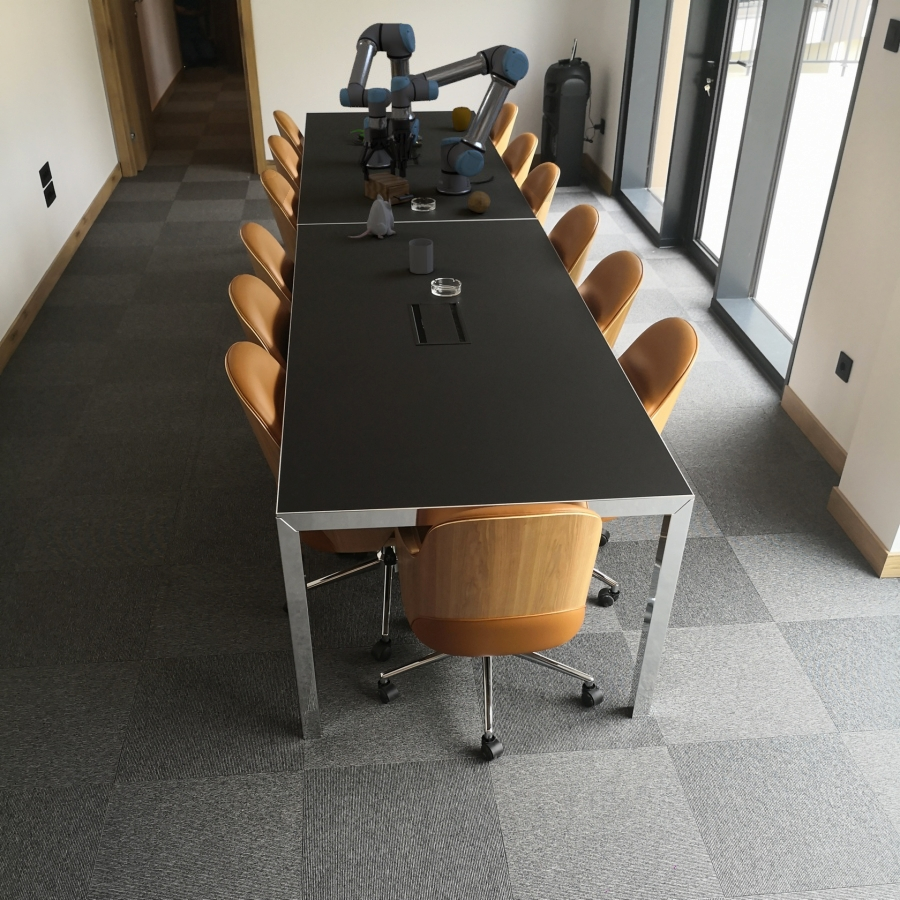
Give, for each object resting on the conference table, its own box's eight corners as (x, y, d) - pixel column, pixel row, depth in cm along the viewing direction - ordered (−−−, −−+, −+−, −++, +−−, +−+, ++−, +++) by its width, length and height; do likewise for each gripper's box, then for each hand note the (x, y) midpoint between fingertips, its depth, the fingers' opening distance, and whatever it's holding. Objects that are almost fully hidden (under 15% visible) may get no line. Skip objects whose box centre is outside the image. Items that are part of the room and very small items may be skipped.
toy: (401, 233, 341) (400, 195, 333) (356, 248, 326) (354, 209, 318) (385, 228, 346) (384, 190, 338) (340, 243, 331) (337, 204, 323)
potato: (488, 206, 371) (488, 187, 367) (492, 216, 359) (492, 197, 355) (465, 206, 370) (465, 188, 366) (468, 217, 358) (468, 197, 354)
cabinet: (408, 201, 378) (407, 180, 373) (386, 205, 372) (385, 185, 367) (386, 191, 390) (385, 171, 385) (365, 195, 384) (364, 175, 379)
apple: (471, 132, 486) (471, 108, 479) (451, 132, 486) (451, 108, 479) (470, 128, 495) (471, 104, 488) (452, 128, 495) (452, 104, 488)
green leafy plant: (404, 126, 468) (348, 124, 466) (404, 141, 461) (347, 139, 459) (404, 135, 473) (349, 133, 471) (404, 150, 466) (348, 148, 463)
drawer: (416, 203, 372) (416, 187, 368) (397, 207, 367) (396, 191, 363) (389, 191, 387) (388, 175, 383) (370, 195, 382) (369, 179, 378)
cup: (409, 265, 311) (408, 238, 306) (432, 265, 312) (431, 238, 307) (410, 274, 304) (409, 246, 299) (433, 273, 305) (433, 246, 299)
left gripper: (357, 132, 360) (359, 184, 371) (407, 125, 372) (408, 175, 383) (348, 129, 365) (350, 180, 376) (397, 122, 377) (399, 172, 388)
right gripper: (392, 121, 346) (394, 181, 359) (419, 117, 353) (420, 176, 366) (382, 118, 352) (384, 177, 364) (409, 114, 358) (410, 172, 371)
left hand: (379, 178), depth 380 cm, fingers open, 13 cm apart
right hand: (402, 176), depth 365 cm, fingers closed
